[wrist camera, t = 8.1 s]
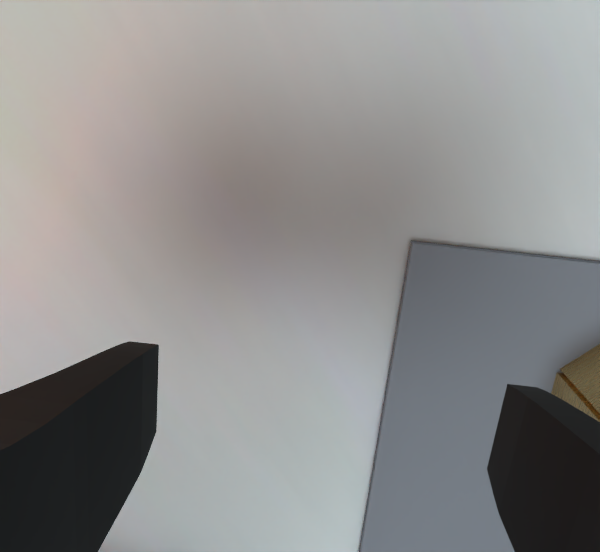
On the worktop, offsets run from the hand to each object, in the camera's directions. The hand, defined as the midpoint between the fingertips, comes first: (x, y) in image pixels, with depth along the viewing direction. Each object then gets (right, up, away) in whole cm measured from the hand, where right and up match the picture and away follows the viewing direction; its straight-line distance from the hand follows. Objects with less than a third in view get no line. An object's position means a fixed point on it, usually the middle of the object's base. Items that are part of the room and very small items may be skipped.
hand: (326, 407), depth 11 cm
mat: (+9, -4, +11) cm, 15 cm away
